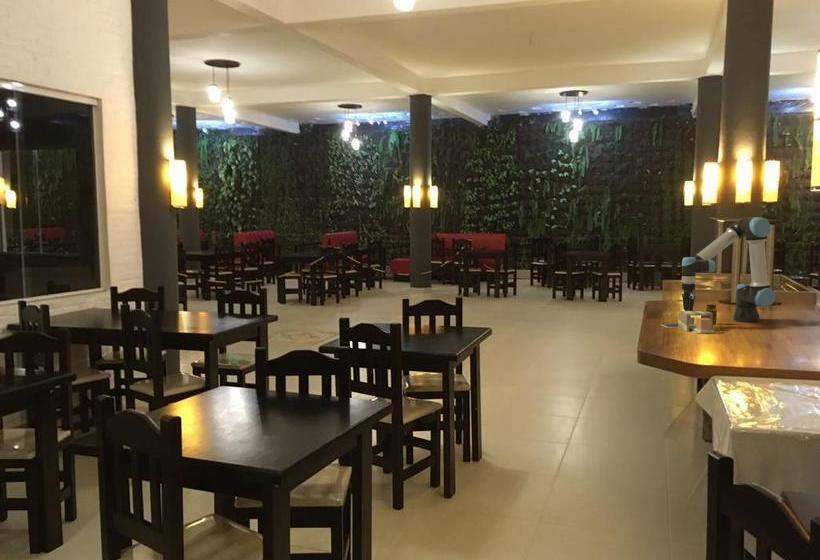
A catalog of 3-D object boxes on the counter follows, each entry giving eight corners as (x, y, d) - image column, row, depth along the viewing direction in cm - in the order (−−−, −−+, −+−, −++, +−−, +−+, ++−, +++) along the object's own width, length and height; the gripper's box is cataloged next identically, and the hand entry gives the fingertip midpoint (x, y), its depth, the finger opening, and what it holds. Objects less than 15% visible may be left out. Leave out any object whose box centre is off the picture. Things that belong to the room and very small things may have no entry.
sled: (694, 325, 414) (694, 313, 414) (714, 332, 390) (714, 319, 389) (681, 326, 414) (681, 314, 413) (700, 332, 389) (700, 320, 389)
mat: (709, 331, 398) (709, 330, 398) (715, 333, 391) (715, 332, 391) (691, 331, 398) (691, 331, 398) (696, 333, 391) (696, 333, 391)
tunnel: (703, 327, 411) (703, 310, 410) (712, 330, 400) (712, 313, 399) (678, 328, 410) (678, 311, 409) (686, 331, 399) (686, 313, 398)
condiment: (719, 324, 421) (720, 304, 420) (711, 325, 417) (711, 306, 415) (708, 322, 427) (709, 303, 426) (700, 324, 423) (700, 304, 421)
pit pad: (688, 324, 423) (688, 323, 423) (696, 326, 413) (696, 326, 413) (661, 325, 423) (661, 324, 423) (667, 327, 413) (668, 327, 413)
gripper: (677, 282, 418) (677, 320, 420) (687, 284, 405) (686, 324, 407) (689, 281, 418) (689, 320, 421) (699, 284, 405) (698, 323, 408)
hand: (687, 322), depth 414 cm, fingers closed
